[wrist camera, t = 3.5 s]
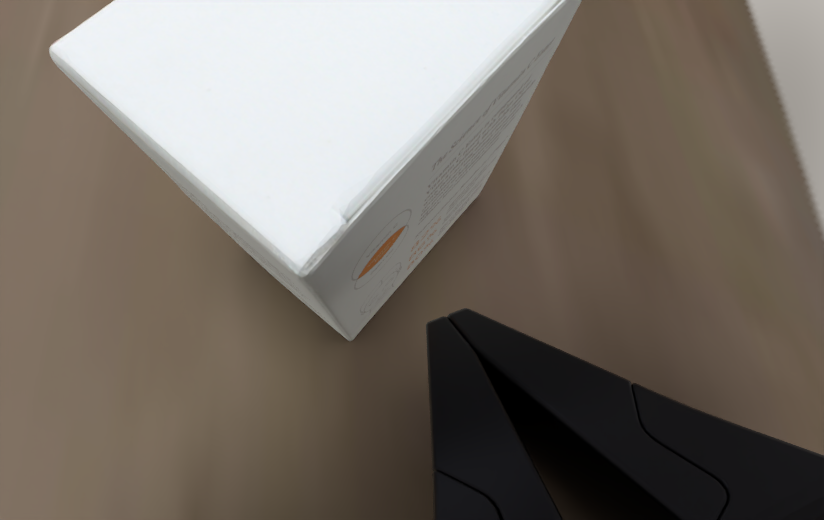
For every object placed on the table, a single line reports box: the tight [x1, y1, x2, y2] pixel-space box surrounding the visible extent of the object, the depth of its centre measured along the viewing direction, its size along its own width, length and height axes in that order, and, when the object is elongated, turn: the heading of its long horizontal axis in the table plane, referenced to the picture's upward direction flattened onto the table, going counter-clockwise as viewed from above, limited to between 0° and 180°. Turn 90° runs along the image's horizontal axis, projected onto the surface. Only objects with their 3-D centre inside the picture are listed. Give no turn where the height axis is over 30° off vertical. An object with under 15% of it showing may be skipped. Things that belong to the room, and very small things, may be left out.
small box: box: [49, 0, 582, 341], centre depth 12 cm, size 8×6×10 cm
